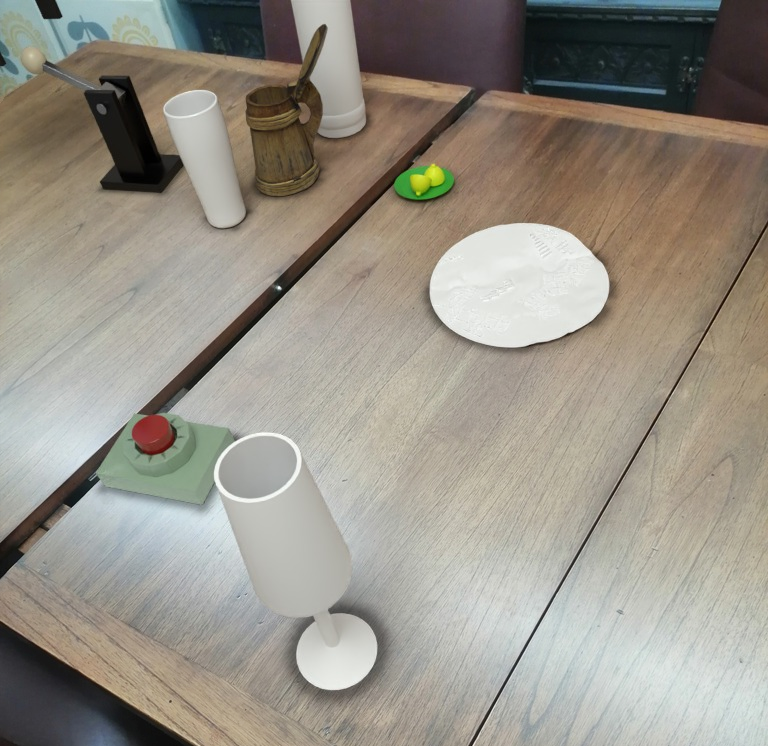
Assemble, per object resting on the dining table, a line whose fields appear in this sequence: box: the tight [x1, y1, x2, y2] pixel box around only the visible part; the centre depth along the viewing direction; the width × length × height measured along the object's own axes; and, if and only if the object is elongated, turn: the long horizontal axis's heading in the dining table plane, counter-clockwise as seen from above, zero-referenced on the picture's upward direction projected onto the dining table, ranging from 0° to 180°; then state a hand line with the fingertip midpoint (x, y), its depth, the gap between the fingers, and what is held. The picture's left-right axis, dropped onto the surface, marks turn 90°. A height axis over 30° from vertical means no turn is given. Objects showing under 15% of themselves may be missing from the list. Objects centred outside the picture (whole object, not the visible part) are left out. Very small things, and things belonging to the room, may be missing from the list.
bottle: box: [290, 0, 367, 139], centre depth 93 cm, size 8×8×30 cm
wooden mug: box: [244, 24, 328, 197], centre depth 91 cm, size 9×14×18 cm, turn 94°
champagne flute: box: [214, 431, 378, 691], centre depth 46 cm, size 7×7×24 cm
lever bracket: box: [83, 74, 184, 194], centre depth 98 cm, size 10×8×13 cm
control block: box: [95, 412, 236, 506], centre depth 68 cm, size 11×8×4 cm
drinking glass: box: [162, 89, 247, 229], centre depth 88 cm, size 7×7×15 cm
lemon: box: [393, 163, 455, 200], centre depth 92 cm, size 8×8×3 cm
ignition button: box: [132, 414, 175, 455], centre depth 66 cm, size 4×4×2 cm
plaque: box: [429, 222, 610, 348], centre depth 78 cm, size 20×20×2 cm
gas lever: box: [20, 45, 126, 109], centre depth 94 cm, size 14×3×3 cm, turn 73°
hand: (26, 41), depth 91 cm, fingers open, 13 cm apart
